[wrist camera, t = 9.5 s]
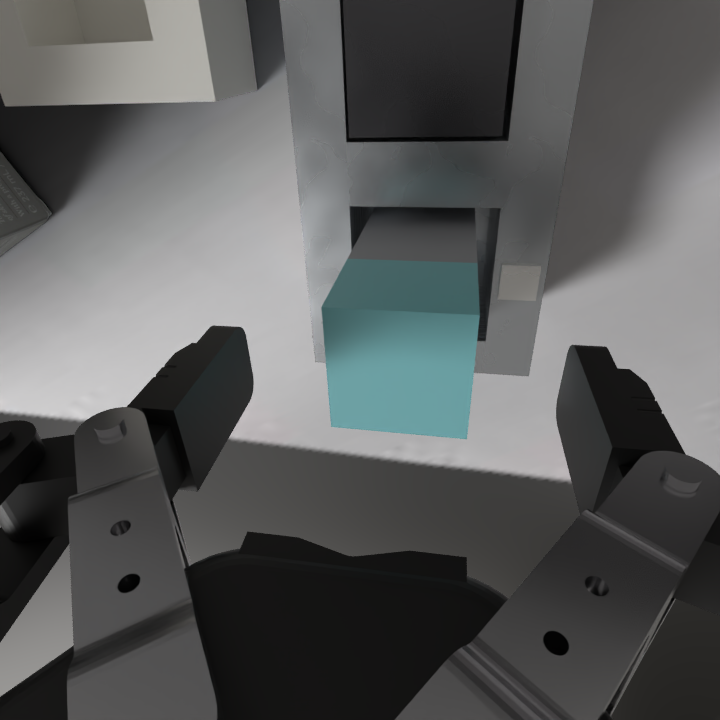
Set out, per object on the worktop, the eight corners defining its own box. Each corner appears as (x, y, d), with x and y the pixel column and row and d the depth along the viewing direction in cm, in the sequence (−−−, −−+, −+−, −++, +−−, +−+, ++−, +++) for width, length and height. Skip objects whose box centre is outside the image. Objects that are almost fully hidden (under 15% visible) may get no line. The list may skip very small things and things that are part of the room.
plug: (386, 186, 20) (321, 306, 11) (474, 187, 20) (479, 315, 11) (386, 267, 22) (331, 426, 13) (466, 270, 22) (466, 439, 13)
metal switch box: (343, 300, 24) (310, 373, 19) (321, -83, 17) (255, -137, 11) (516, 308, 23) (531, 389, 18) (576, -105, 15) (632, -177, 10)
